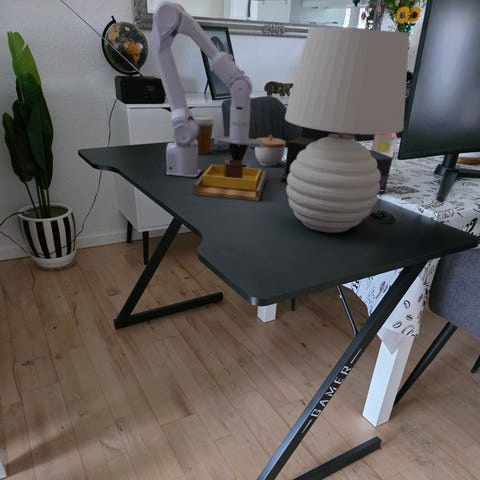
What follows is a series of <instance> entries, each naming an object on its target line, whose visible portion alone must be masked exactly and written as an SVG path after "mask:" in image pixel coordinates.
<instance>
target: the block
mask: <svg viewBox="0 0 480 480" xmlns="http://www.w3.org/2000/svg"><path fill="white" fill-rule="evenodd" d="M243 164H244V163H243V160H242V161H241V160H233V159H224V160H223V165H224V177H230V178H241V179H242V177H243Z"/></svg>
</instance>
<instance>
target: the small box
mask: <svg viewBox="0 0 480 480" xmlns="http://www.w3.org/2000/svg"><path fill="white" fill-rule="evenodd" d="M368 150H369V151H370V153H371V156H372V157H373V158H374V159H376V161H377V169H379V171H380V174H381V177H380V181H379V184H380V190H383V191H380V190H379V193H378V194H377V195H381V194H386V189H387V184H388V180H389V175H390V170H391V166H392V163H393V159H394V158H393V157H389V156H387V155H384V154H381V153H379V152H376V151H373V150H372V149H368Z"/></svg>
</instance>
